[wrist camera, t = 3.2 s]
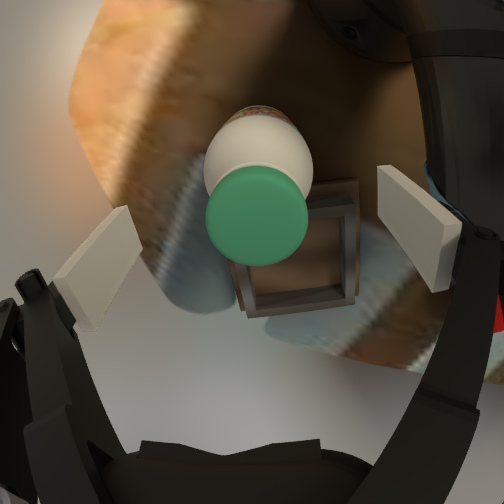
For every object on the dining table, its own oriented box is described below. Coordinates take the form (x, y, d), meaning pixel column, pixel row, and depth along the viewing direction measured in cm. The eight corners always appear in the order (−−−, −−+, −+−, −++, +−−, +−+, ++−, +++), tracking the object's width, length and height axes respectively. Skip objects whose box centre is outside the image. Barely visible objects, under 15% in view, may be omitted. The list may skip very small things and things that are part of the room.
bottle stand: (214, 197, 34) (208, 211, 30) (356, 178, 32) (367, 190, 28) (241, 306, 42) (239, 326, 38) (356, 290, 40) (363, 310, 36)
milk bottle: (306, 161, 31) (359, 268, 14) (238, 185, 33) (213, 311, 16) (281, 94, 28) (315, 109, 10) (210, 120, 29) (138, 179, 12)
